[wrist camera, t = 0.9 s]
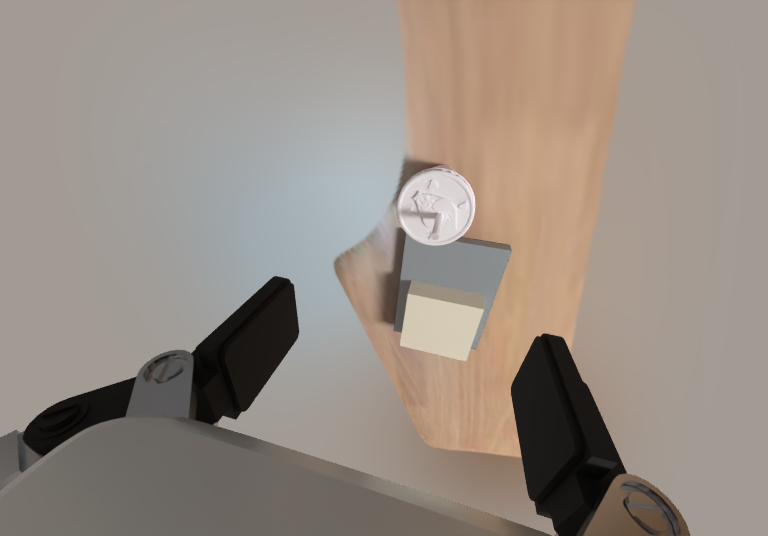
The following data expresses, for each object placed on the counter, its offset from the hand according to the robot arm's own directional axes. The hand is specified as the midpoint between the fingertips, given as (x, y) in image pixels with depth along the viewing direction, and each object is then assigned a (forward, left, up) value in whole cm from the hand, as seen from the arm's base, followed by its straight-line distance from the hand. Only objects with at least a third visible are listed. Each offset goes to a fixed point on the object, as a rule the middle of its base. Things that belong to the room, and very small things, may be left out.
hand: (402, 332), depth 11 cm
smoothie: (0, 0, -24) cm, 24 cm away
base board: (+14, +3, -24) cm, 28 cm away
